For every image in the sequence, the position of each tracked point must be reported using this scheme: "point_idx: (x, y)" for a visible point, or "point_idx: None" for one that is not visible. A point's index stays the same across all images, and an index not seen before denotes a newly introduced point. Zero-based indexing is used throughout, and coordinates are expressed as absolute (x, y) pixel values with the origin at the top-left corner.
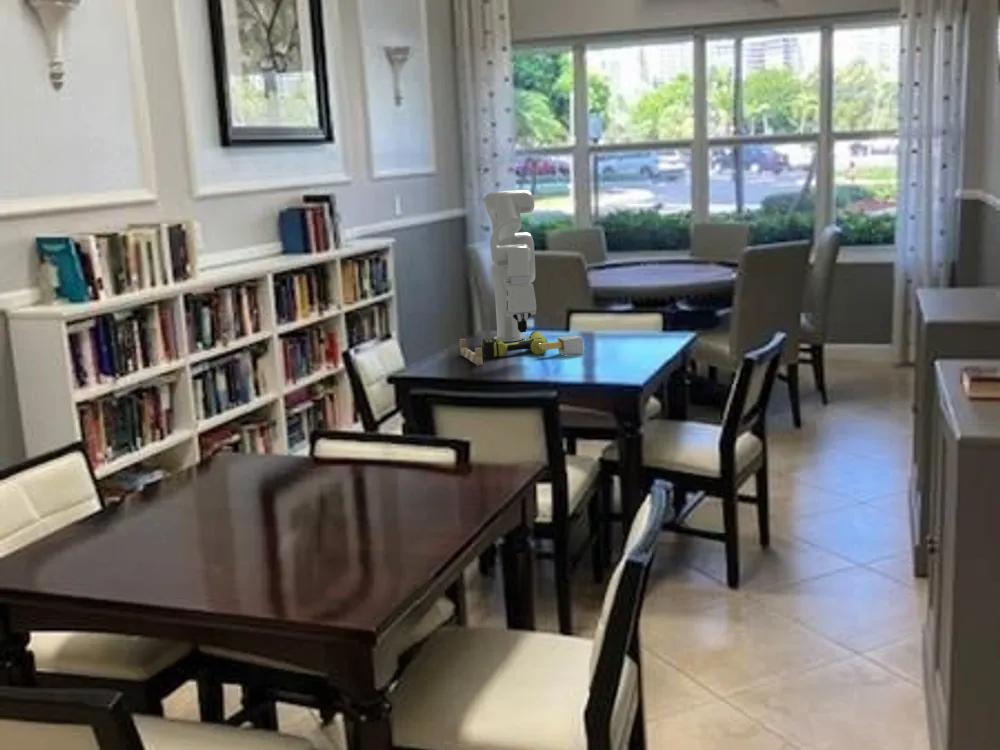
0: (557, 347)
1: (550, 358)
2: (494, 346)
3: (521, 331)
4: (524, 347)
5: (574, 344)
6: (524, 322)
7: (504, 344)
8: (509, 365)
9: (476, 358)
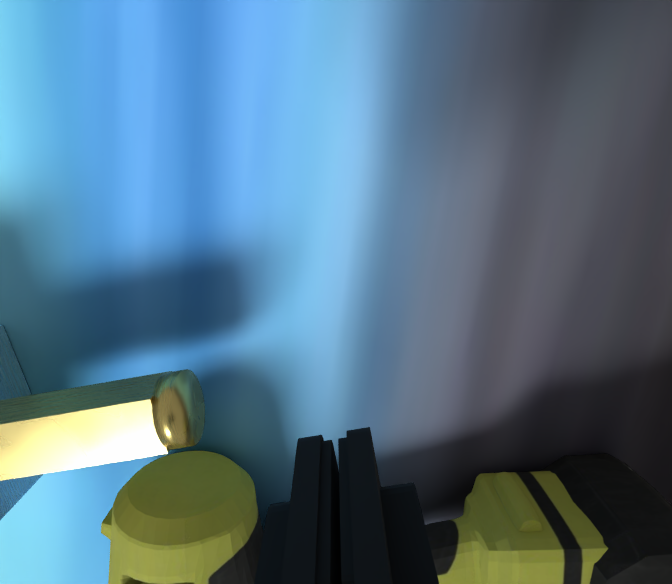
0: (16, 401)
1: (125, 287)
2: (588, 529)
3: (372, 446)
4: None
5: None
6: (305, 574)
7: (490, 559)
8: (501, 117)
9: None
